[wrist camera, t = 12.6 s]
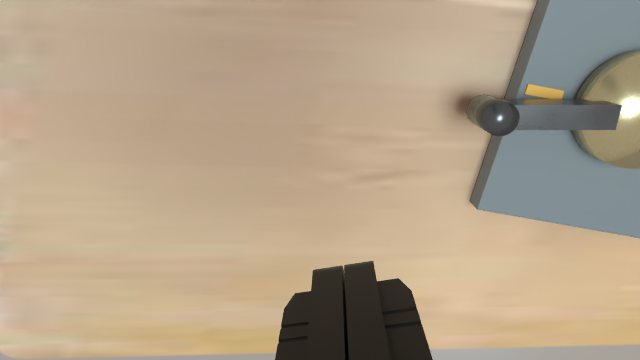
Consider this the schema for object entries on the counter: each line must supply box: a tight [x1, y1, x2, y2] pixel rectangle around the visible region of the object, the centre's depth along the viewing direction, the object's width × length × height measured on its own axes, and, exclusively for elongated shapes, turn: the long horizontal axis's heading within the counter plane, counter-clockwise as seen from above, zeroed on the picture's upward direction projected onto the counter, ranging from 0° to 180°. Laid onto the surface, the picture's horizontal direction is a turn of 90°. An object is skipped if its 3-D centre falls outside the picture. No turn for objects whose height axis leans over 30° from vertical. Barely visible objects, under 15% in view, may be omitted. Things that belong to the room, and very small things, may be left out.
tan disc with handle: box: [467, 50, 640, 169], centre depth 29 cm, size 18×9×5 cm, turn 90°
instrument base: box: [470, 0, 640, 238], centre depth 32 cm, size 22×18×4 cm
